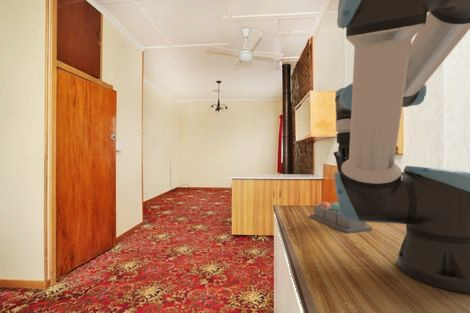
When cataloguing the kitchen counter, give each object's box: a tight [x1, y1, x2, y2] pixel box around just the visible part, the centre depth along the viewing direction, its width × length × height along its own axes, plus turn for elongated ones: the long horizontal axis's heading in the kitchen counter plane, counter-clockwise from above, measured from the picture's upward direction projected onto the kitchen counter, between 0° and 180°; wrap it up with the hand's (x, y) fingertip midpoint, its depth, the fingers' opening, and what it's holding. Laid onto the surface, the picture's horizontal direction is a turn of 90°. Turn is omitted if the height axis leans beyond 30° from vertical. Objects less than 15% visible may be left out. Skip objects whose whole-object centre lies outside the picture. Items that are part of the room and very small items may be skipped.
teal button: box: [331, 202, 340, 212], centre depth 88 cm, size 4×4×4 cm
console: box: [309, 204, 373, 234], centre depth 88 cm, size 22×10×5 cm, turn 15°
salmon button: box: [320, 201, 331, 208], centre depth 95 cm, size 4×4×4 cm
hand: (349, 197), depth 82 cm, fingers closed
